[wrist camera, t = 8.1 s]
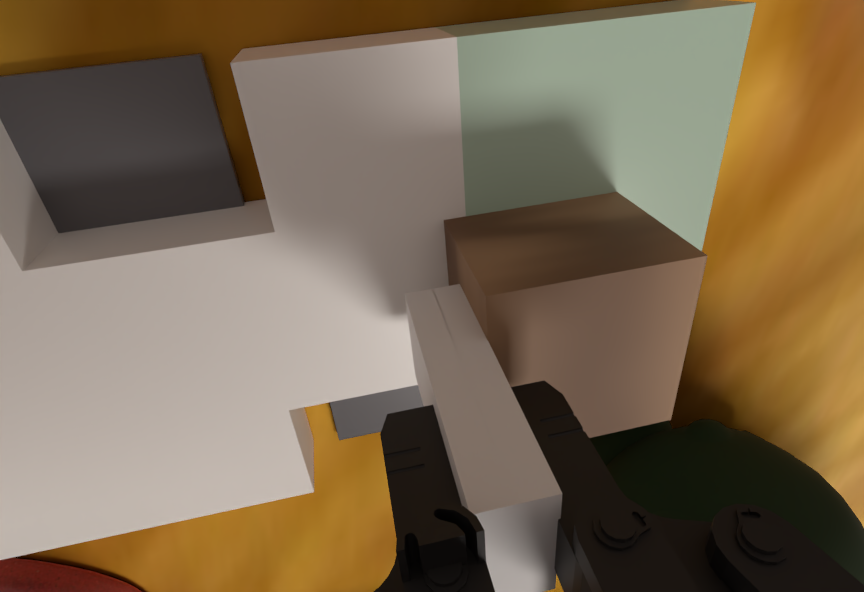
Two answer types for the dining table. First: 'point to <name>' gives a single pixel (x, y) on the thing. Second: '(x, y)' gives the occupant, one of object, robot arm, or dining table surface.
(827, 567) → the robot arm
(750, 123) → the dining table surface
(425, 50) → the trap deck
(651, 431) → the toy figurine
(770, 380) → the dining table surface
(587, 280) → the walnut block
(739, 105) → the dining table surface
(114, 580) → the stacking bear
